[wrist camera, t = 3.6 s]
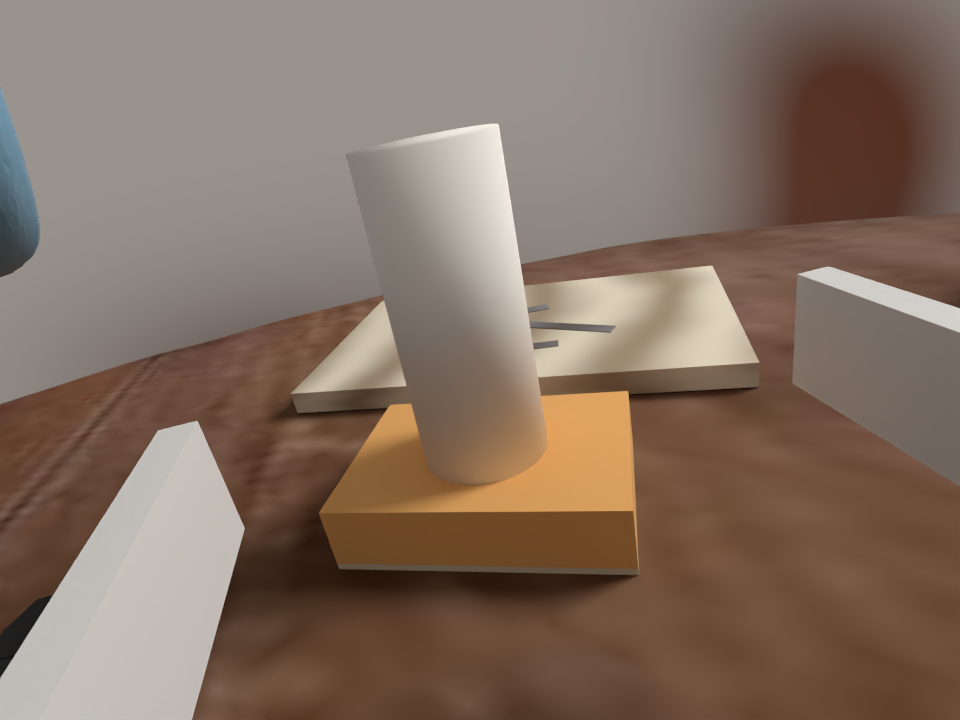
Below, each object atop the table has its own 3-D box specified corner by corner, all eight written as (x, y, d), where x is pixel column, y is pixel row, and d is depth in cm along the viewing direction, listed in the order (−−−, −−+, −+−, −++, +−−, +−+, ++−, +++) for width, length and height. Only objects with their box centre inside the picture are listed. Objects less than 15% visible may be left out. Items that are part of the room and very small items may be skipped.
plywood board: (297, 413, 32) (290, 393, 31) (385, 316, 44) (381, 300, 44) (758, 387, 26) (759, 361, 25) (712, 283, 38) (712, 264, 38)
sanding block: (339, 570, 20) (198, 187, 15) (403, 452, 26) (319, 152, 21) (639, 576, 18) (597, 116, 12) (632, 444, 24) (603, 99, 18)
